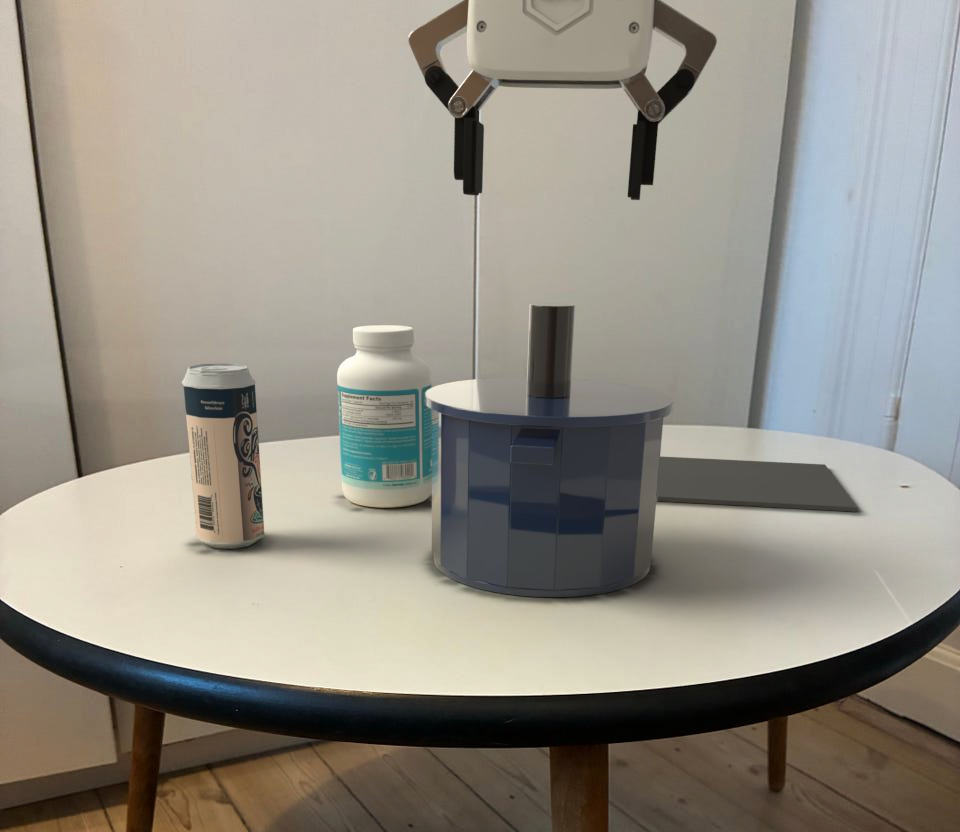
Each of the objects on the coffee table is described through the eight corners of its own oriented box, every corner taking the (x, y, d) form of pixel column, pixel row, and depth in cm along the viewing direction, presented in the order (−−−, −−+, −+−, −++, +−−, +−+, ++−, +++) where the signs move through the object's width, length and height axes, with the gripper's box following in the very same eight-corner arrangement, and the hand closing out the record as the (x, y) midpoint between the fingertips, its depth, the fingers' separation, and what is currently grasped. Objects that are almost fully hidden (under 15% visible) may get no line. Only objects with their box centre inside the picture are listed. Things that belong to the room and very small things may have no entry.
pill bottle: (382, 483, 89) (379, 321, 84) (450, 496, 85) (451, 327, 80) (322, 500, 83) (315, 327, 78) (392, 515, 79) (389, 334, 74)
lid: (669, 399, 72) (678, 299, 69) (675, 444, 57) (687, 319, 55) (448, 390, 74) (448, 292, 71) (400, 431, 59) (399, 310, 57)
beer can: (268, 548, 71) (257, 371, 66) (197, 553, 70) (181, 372, 65) (262, 529, 75) (251, 361, 70) (194, 533, 74) (179, 362, 69)
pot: (649, 526, 78) (660, 386, 74) (650, 620, 59) (666, 440, 55) (459, 515, 80) (461, 378, 76) (404, 603, 61) (402, 427, 57)
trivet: (824, 468, 98) (825, 464, 97) (856, 512, 83) (857, 507, 83) (655, 460, 100) (655, 456, 99) (657, 501, 85) (657, 496, 85)
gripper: (395, -177, 52) (396, 191, 58) (743, -183, 50) (703, 200, 56) (424, -130, 59) (422, 194, 65) (730, -133, 57) (696, 202, 63)
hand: (552, 196), depth 61 cm, fingers open, 9 cm apart
